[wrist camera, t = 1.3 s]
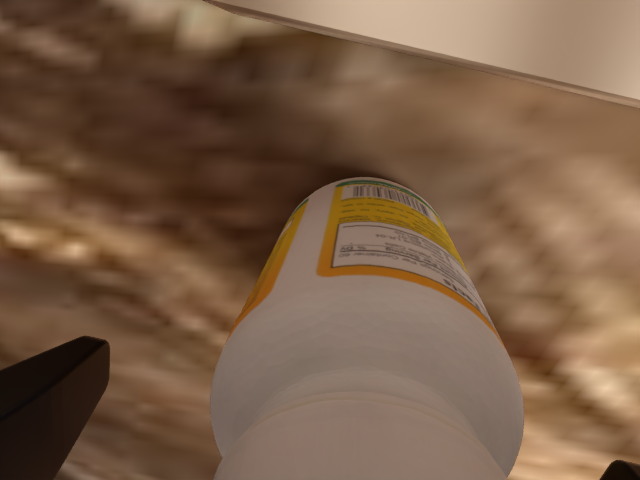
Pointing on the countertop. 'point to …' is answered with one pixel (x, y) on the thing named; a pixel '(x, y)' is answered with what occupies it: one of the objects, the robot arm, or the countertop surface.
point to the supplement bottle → (365, 352)
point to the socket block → (487, 36)
